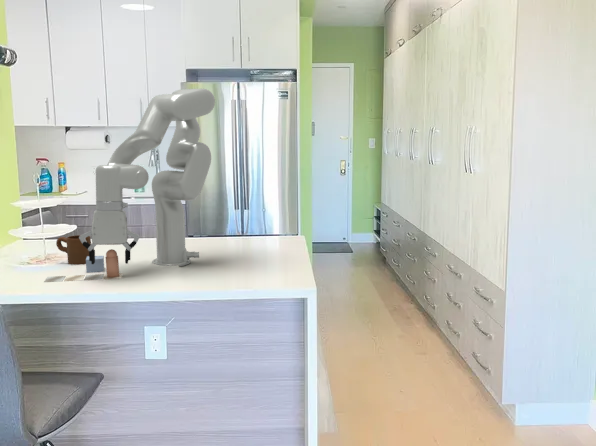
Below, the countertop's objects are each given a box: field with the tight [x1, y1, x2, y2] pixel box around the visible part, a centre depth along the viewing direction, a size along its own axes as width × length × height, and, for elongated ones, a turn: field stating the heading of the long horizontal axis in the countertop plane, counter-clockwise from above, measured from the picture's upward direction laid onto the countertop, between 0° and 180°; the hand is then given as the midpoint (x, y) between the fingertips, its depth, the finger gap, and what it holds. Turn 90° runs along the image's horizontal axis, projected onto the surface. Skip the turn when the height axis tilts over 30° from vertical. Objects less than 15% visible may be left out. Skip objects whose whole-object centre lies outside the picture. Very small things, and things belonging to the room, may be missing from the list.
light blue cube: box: [85, 255, 105, 274], centre depth 178 cm, size 5×5×5 cm
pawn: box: [105, 249, 120, 277], centre depth 171 cm, size 4×4×8 cm
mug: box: [55, 234, 92, 266], centre depth 189 cm, size 12×8×9 cm, turn 80°
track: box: [43, 272, 123, 283], centre depth 170 cm, size 22×7×1 cm, turn 104°
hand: (110, 263), depth 170 cm, fingers open, 9 cm apart
